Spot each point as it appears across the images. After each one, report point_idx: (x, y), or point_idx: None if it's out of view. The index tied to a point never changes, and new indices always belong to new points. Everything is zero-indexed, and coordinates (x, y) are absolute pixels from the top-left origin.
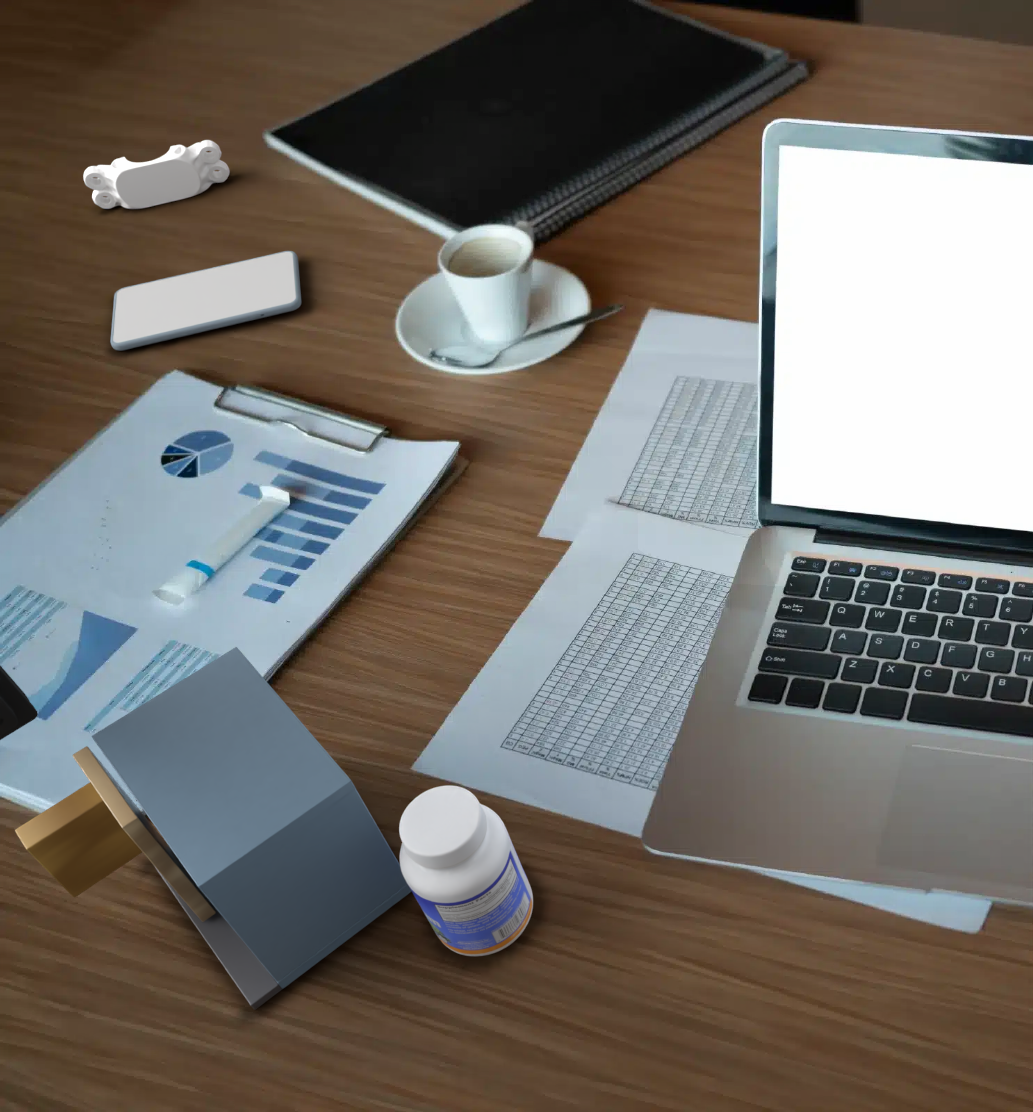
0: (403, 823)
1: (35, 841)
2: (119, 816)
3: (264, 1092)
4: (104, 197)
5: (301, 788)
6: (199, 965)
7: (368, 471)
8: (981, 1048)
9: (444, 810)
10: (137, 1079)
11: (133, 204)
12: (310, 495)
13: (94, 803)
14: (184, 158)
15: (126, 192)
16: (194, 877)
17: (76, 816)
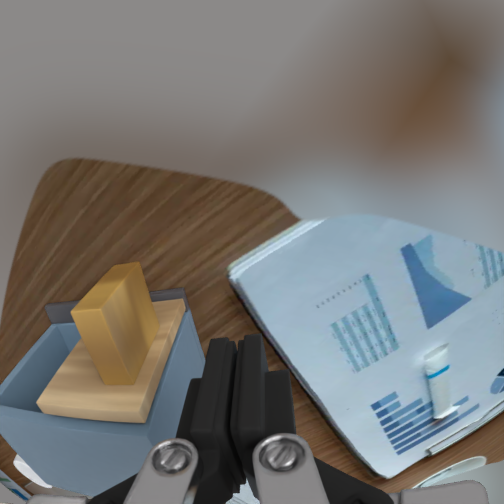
0: (31, 469)
1: (75, 322)
2: (46, 406)
3: (9, 288)
4: None
5: (44, 473)
6: (85, 287)
7: (415, 449)
8: (5, 446)
9: (36, 478)
10: (31, 230)
11: None
12: (429, 427)
13: (103, 377)
14: None
15: None
16: None
17: (93, 361)
